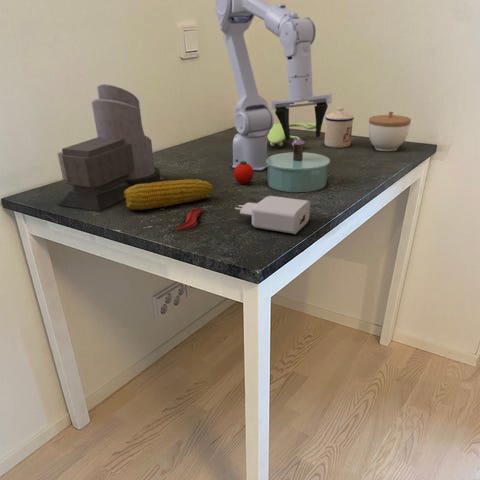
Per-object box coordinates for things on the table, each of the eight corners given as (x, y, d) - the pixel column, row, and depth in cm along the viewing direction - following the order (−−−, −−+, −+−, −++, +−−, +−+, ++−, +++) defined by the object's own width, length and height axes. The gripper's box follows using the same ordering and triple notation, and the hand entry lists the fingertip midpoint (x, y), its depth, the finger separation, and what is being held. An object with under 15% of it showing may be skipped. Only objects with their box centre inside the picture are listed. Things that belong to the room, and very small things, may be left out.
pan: (258, 188, 122) (258, 166, 119) (280, 172, 134) (280, 152, 131) (315, 195, 117) (317, 172, 114) (333, 178, 128) (335, 157, 125)
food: (131, 216, 107) (127, 190, 104) (124, 209, 111) (120, 183, 108) (216, 200, 115) (215, 175, 112) (207, 193, 119) (205, 169, 116)
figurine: (319, 136, 172) (321, 119, 169) (300, 153, 151) (301, 135, 148) (271, 133, 178) (271, 117, 175) (245, 150, 157) (245, 132, 154)
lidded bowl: (411, 146, 156) (417, 110, 150) (399, 155, 147) (405, 116, 142) (373, 142, 162) (377, 107, 156) (360, 150, 153) (364, 113, 147)
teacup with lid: (347, 149, 155) (351, 110, 149) (320, 147, 158) (322, 109, 152) (355, 141, 165) (359, 104, 158) (329, 139, 168) (332, 103, 161)
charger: (246, 211, 108) (309, 220, 102) (227, 225, 101) (293, 236, 95) (246, 190, 106) (310, 199, 100) (226, 203, 99) (294, 213, 93)
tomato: (230, 184, 125) (229, 163, 122) (239, 179, 129) (238, 158, 126) (248, 187, 123) (248, 165, 120) (256, 181, 127) (256, 160, 124)
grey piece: (126, 171, 138) (112, 77, 125) (174, 177, 132) (165, 78, 119) (53, 204, 115) (26, 92, 102) (107, 212, 109) (86, 95, 96)
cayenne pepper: (184, 231, 99) (183, 223, 98) (166, 228, 100) (165, 219, 99) (215, 213, 107) (214, 205, 106) (197, 210, 109) (197, 202, 108)
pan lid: (255, 169, 119) (255, 148, 117) (279, 154, 132) (280, 134, 129) (318, 175, 113) (319, 153, 111) (337, 159, 126) (338, 139, 123)
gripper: (266, 81, 113) (270, 142, 118) (328, 73, 108) (329, 137, 114) (273, 81, 119) (277, 139, 124) (332, 73, 114) (333, 134, 120)
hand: (302, 138), depth 119 cm, fingers open, 7 cm apart
